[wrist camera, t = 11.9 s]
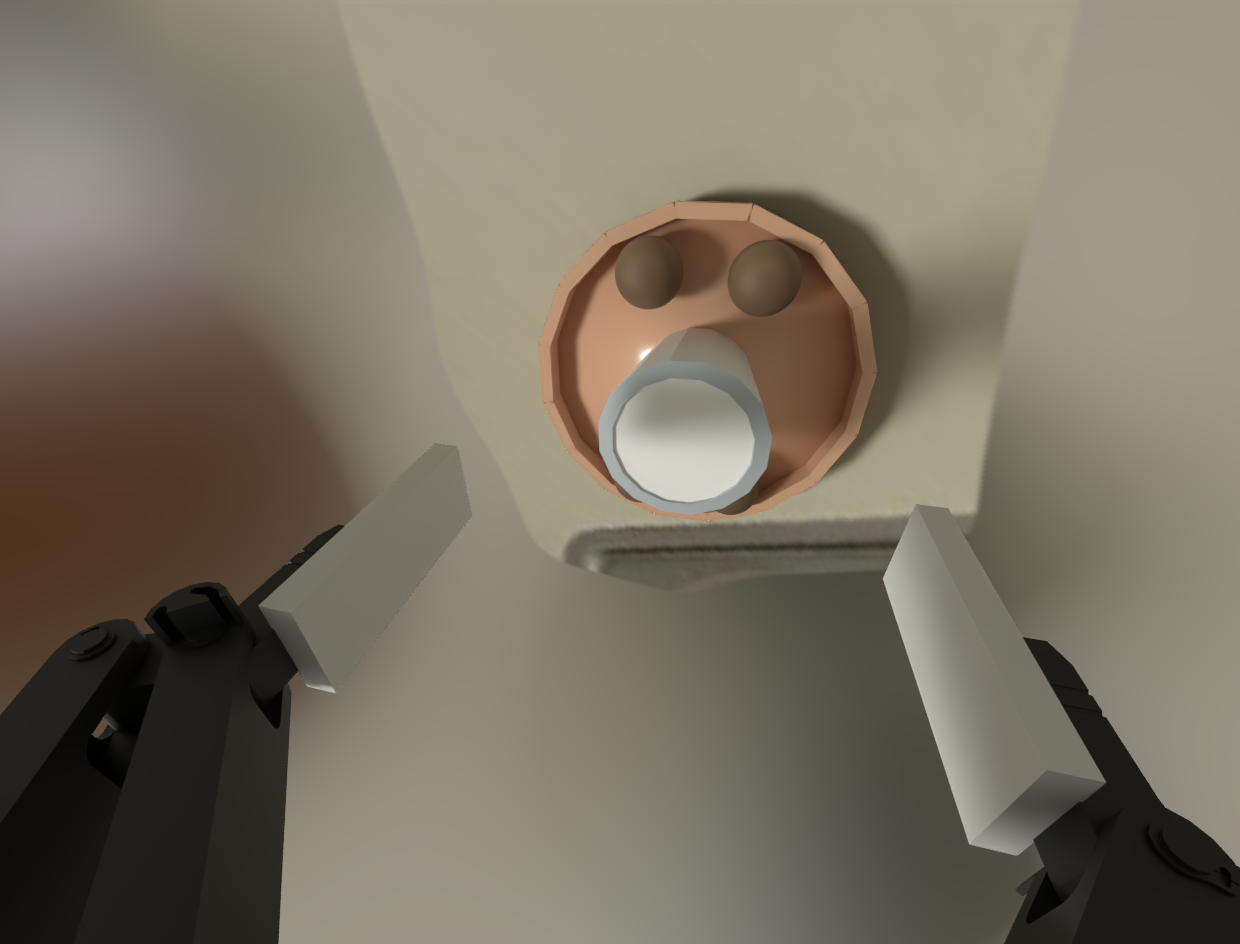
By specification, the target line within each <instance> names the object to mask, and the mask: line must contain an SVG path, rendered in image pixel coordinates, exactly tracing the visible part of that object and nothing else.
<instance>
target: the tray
mask: <svg viewBox="0 0 1240 944" xmlns="http://www.w3.org/2000/svg"><path fill="white" fill-rule="evenodd" d="M647 235H653V236H658V237H661V238H664V239H666V240H667V241H669V242H670V243H671V244H672V245H673V246H674V247H675V248H676V249H677V251H678V252H679V254H680V257H681V259H682V263H683V280H682V284H681V287H680V289H679V291H678V293H677V294H676V296H675V297H674V298H673V299H672V300H671V301H670V302H669V303H667V304H666V305H664V306H662V307H660V308H656V309H650V310H646V309H640V308H637V307H635V306H633V305H631V304H630V303H628V302H627V301H626V300H625V299H624V298H623V296H622V295H621V293H620V292H619V290H618V287H617V284H616V280H615V267H616V262H617V259H618V257H619V255H620V253H621V251H622V250H623V249H624V247H625V246H626V245H627V244H628V243H630V242H631V241H632V240H634V239H636V238H639V237H641V236H647ZM762 240H776V241H779V242H782V243H784V244H786V245H788V246H789V247H790V248H791V249H793V251H794V252H795V253H796V255H797V256H798V258H799V260H800V263H801V267H802V282H801V286H800V289H799V291H798V293H797V295H796V297H795V298H794V300H793V301H792V302H791V303H790V304H789V305H788V306H787V307H786V308H785V309H783V310H782V311H780V312H779V313H777V314H774V315H771V316H767V317H755V316H751V315H748V314H746V313H744V312H742V311H741V310H740V309H738V308H737V307H736V305H735V304H734V303H733V301H732V299H731V297H730V295H729V291H728V283H727V282H728V274H729V270H730V267H731V265H732V263H733V261H734V260H735V258H736V257H737V256H738V254H739V253H740V252H741V251H742V250H743V249H745V248H746V247H747V246H749V245H751V244H753V243H755V242H758V241H762ZM686 328H709V329H713V330H715V331H717V332H719V333H722V334H724V335H726V336H728V337H730V338H732V339H733V340H734V342H735V343H736V344H737V345H738V346H739V347H740V349H741V350H742V351H743V352H744V353H745V354H746V356H747V359H748V362H749V365H750V368H751V371H752V374H753V377H754V380H755V383H756V386H757V389H758V392H759V395H760V398H761V401H762V404H763V407H764V410H765V414H766V417H767V421H768V424H769V428H770V431H771V435H772V442H771V447H770V453H769V458H768V464H767V468H766V470H765V471H764V472H763V474H762V475H761V477H760V478H759V479H758V483H759V492H758V496H757V499H756V501H755V502H754V504H753V505H752V506H751V507H750V508H749V509H748V510H746V511H744V512H742V513H740V514H736V515H725V514H721V513H719V512H717V511H715V510H713V511H708V512H703V513H698V514H693V515H690V514H682V513H674V512H666V511H660V510H658V509H656V508H654V507H652V506H650V505H647V504H645V503H643V502H641V503H639V502H633V501H630V500H628V499H626V498H625V497H624V496H622V495H621V494H620V493H619V491H618V490H617V488H616V486H615V483H614V479H613V478H612V476H611V474H610V472H609V470H608V468H607V466H606V464H605V461H604V459H603V457H602V455H601V453H600V451H599V419H600V417H601V415H602V412H603V410H604V408H605V405H606V403H607V401H608V398H609V396H610V394H611V393H612V391H613V390H614V389H615V388H616V387H617V386H618V385H619V384H620V383H621V382H622V381H623V380H624V379H625V378H626V376H627V375H628V374H629V373H630V372H631V371H632V370H633V369H634V368H635V367H636V366H637V365H638V364H639V362H640V361H641V360H642V359H643V358H644V357H645V356H646V355H647V354H648V353H649V352H650V351H651V350H652V349H653V348H654V347H655V346H656V345H657V344H658V343H659V342H660V341H661V340H663V339H664V338H665V337H666V336H667V335H669V334H672V333H675V332H677V331H680V330H683V329H686ZM538 346H539V359H540V371H541V384H542V397H543V402H544V403H543V404H544V406H545V408H546V410H547V412H548V414H549V416H550V418H551V420H552V422H553V424H554V426H555V429H556V431H557V433H558V435H559V437H560V439H561V441H562V443H563V445H564V447H565V449H566V451H567V452H568V454H569V455H570V456H571V457H572V458H573V459H574V460H575V461H576V462H577V463H578V464H579V465H580V466H581V467H582V468H583V469H584V470H585V471H586V472H587V473H588V474H589V475H590V476H591V477H593V478H594V479H595V480H596V481H597V482H598V483H599V484H600V485H601V486H602V487H603V488H604V489H607V490H606V491H608V492H610V493H612V494H614V495H616V496H618V497H620V498H622V499H624V500H626V501H629V502H631V503H633V504H635V505H637V506H639V507H641V508H643V509H645V510H647V511H649V512H651V513H654V512H655V514H658V515H665V516H672V517H679V518H686V519H693V520H700V521H707V522H708V520H709V522H710V521H715V520H721V519H727V518H733V517H738V516H744V515H750V514H756V513H761V512H764V511H767V510H769V509H771V508H773V507H775V506H776V505H778V504H780V503H782V502H784V501H785V500H787V499H789V498H791V497H793V496H795V495H796V494H798V493H800V492H802V491H804V490H805V489H807V488H809V487H811V486H813V485H815V484H816V482H818V481H819V480H820V479H821V478H822V477H823V475H824V474H825V473H826V472H827V471H828V470H829V468H830V467H831V466H832V465H833V464H834V463H835V461H836V460H837V459H838V458H839V457H840V456H841V454H842V453H843V452H844V451H845V450H846V449H847V447H848V446H849V445H850V444H851V443H852V442H853V440H854V439H855V438H856V437H857V435H858V433H859V430H860V426H861V423H862V420H863V417H864V414H865V411H866V407H867V404H868V401H869V398H870V395H871V391H872V388H873V385H874V382H875V379H876V376H877V365H876V358H875V351H874V344H873V337H872V330H871V323H870V316H869V309H868V303H867V301H866V299H865V298H864V297H863V295H862V294H861V292H860V291H859V290H858V288H857V287H856V285H855V284H854V283H853V281H852V280H851V278H850V277H849V275H848V274H847V273H846V271H845V270H844V268H843V267H842V266H841V264H840V263H839V261H838V260H837V258H836V257H835V256H834V254H833V253H832V251H831V250H830V249H829V247H828V246H827V244H826V243H825V242H824V241H823V240H822V239H821V238H820V237H818V236H816V235H814V234H812V233H810V232H809V231H807V230H805V229H803V228H801V227H799V226H797V225H795V224H793V223H792V222H790V221H788V220H787V219H785V218H783V217H781V216H778V215H776V214H774V213H772V212H770V211H768V210H766V209H765V208H763V207H761V206H759V205H757V204H755V203H754V204H753V206H752V202H725V201H675V202H673V203H670V204H668V205H666V206H663V207H661V208H659V209H657V210H654V211H652V212H650V213H647V214H645V215H643V216H641V217H638V218H636V219H634V220H632V221H629V222H627V223H625V224H622V225H620V226H618V227H616V228H613V229H611V230H609V231H606V232H605V233H603V235H602V236H601V237H600V238H599V239H598V240H597V241H596V242H595V244H594V245H593V246H592V247H591V248H590V249H589V250H588V251H587V252H586V254H585V255H584V256H583V257H582V258H581V259H580V260H579V261H578V263H577V264H576V265H575V266H574V267H573V268H572V269H571V270H570V271H569V273H568V274H567V275H566V276H565V277H564V278H563V279H562V280H561V281H560V283H559V285H558V286H557V289H556V292H555V295H554V298H553V301H552V304H551V307H550V310H549V313H548V316H547V319H546V323H545V326H544V329H543V332H542V335H541V338H540V341H539V345H538Z"/></svg>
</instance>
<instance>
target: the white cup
mask: <svg viewBox="0 0 1240 944" xmlns="http://www.w3.org/2000/svg"><path fill="white" fill-rule="evenodd" d="M771 442H772V435H771V431H770V428H769V424H768V421H767V417H766V414H765V410H764V407H763V404H762V401H761V398H760V395H759V392H758V389H757V386H756V383H755V380H754V377H753V374H752V371H751V368H750V365H749V362H748V359H747V356H746V354H745V353H744V352H743V351H742V350H741V349H740V347H739V346H738V345H737V344H736V343H735V342H734V340H733V339H732V338H730V337H728V336H726V335H724V334H722V333H719V332H717V331H715V330H713V329H709V328H686V329H683V330H680V331H677V332H675V333H672V334H669V335H667V336H666V337H665V338H664V339H663V340H661V341H660V342H659V343H658V344H657V345H656V346H655V347H654V348H653V349H652V350H651V351H650V352H649V353H648V354H647V355H646V356H645V357H644V358H643V359H642V360H641V361H640V362H639V364H638V365H637V366H636V367H635V368H634V369H633V370H632V371H631V372H630V373H629V374H628V375H627V376H626V378H625V379H624V380H623V381H622V382H621V383H620V384H619V385H618V386H617V387H616V388H615V389H614V390H613V391H612V393H611V394H610V396H609V398H608V401H607V403H606V405H605V408H604V410H603V412H602V415H601V417H600V419H599V451H600V453H601V455H602V457H603V459H604V461H605V464H606V466H607V468H608V470H609V472H610V474H611V476H612V478H613V479H614V480H615V481H616V482H617V483H618V484H620V485H621V486H622V487H623V488H624V489H625V490H626V491H627V492H628V493H629V494H630V495H631V496H632V497H633V498H635V499H637V500H639V501H641V502H643V503H645V504H647V505H650V506H652V507H654V508H656V509H658V510H660V511H666V512H674V513H682V514H690V515H693V514H698V513H703V512H708V511H713V510H718V509H723V508H724V507H726V506H728V505H729V504H731V503H733V502H734V501H736V500H738V499H739V498H741V497H743V496H744V495H746V494H747V493H749V492H750V490H751V489H752V488H753V486H754V485H755V483H756V482H757V481H758V479H759V478H760V477H761V475H762V474H763V472H764V471H765V470H766V468H767V464H768V458H769V453H770V447H771Z"/></svg>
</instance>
